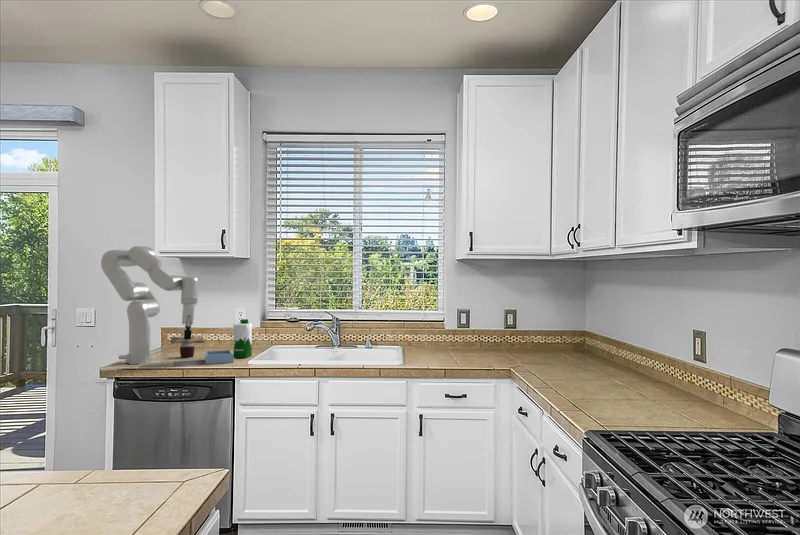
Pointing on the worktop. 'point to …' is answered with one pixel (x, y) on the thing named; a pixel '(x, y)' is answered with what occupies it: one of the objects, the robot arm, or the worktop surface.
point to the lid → (181, 339)
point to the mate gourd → (186, 349)
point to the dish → (219, 357)
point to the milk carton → (243, 339)
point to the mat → (189, 362)
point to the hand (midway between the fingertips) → (187, 337)
